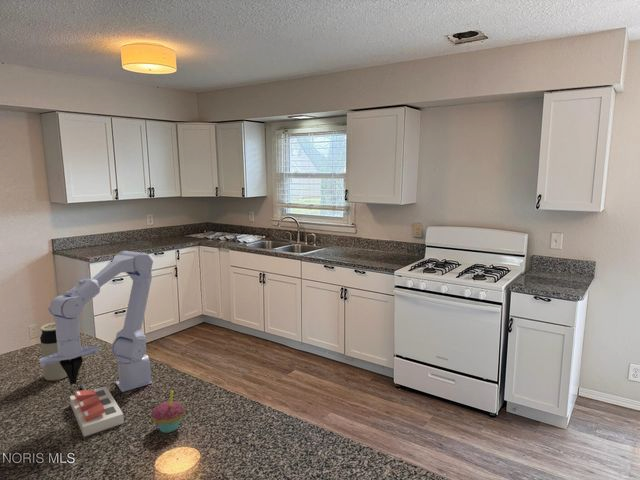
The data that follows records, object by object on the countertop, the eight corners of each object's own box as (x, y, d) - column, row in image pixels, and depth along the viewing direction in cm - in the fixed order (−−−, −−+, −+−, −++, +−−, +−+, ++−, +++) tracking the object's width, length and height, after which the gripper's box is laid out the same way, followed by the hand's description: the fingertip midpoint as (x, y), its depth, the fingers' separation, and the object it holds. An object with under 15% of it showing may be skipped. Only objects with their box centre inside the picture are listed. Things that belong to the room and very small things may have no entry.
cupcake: (191, 422, 120) (189, 382, 118) (171, 440, 112) (169, 397, 111) (165, 416, 123) (163, 377, 121) (145, 433, 115) (142, 392, 113)
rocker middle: (97, 398, 126) (96, 394, 126) (100, 403, 123) (99, 399, 123) (79, 406, 123) (77, 402, 123) (81, 411, 120) (80, 407, 120)
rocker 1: (92, 393, 131) (93, 388, 131) (95, 397, 128) (96, 393, 128) (74, 395, 127) (74, 391, 127) (76, 400, 125) (77, 395, 125)
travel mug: (76, 374, 149) (71, 324, 146) (52, 383, 142) (46, 331, 139) (64, 368, 153) (59, 320, 150) (40, 377, 147) (34, 327, 144)
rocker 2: (102, 406, 121) (101, 402, 121) (105, 412, 119) (104, 408, 118) (83, 415, 119) (82, 411, 118) (86, 421, 116) (84, 417, 115)
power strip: (99, 381, 143) (98, 373, 143) (123, 423, 120) (123, 413, 120) (64, 391, 137) (63, 382, 137) (83, 436, 114) (82, 426, 113)
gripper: (93, 327, 128) (97, 370, 131) (36, 339, 119) (41, 385, 122) (99, 334, 123) (103, 379, 125) (39, 347, 114) (44, 395, 116)
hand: (72, 382), depth 123 cm, fingers closed
